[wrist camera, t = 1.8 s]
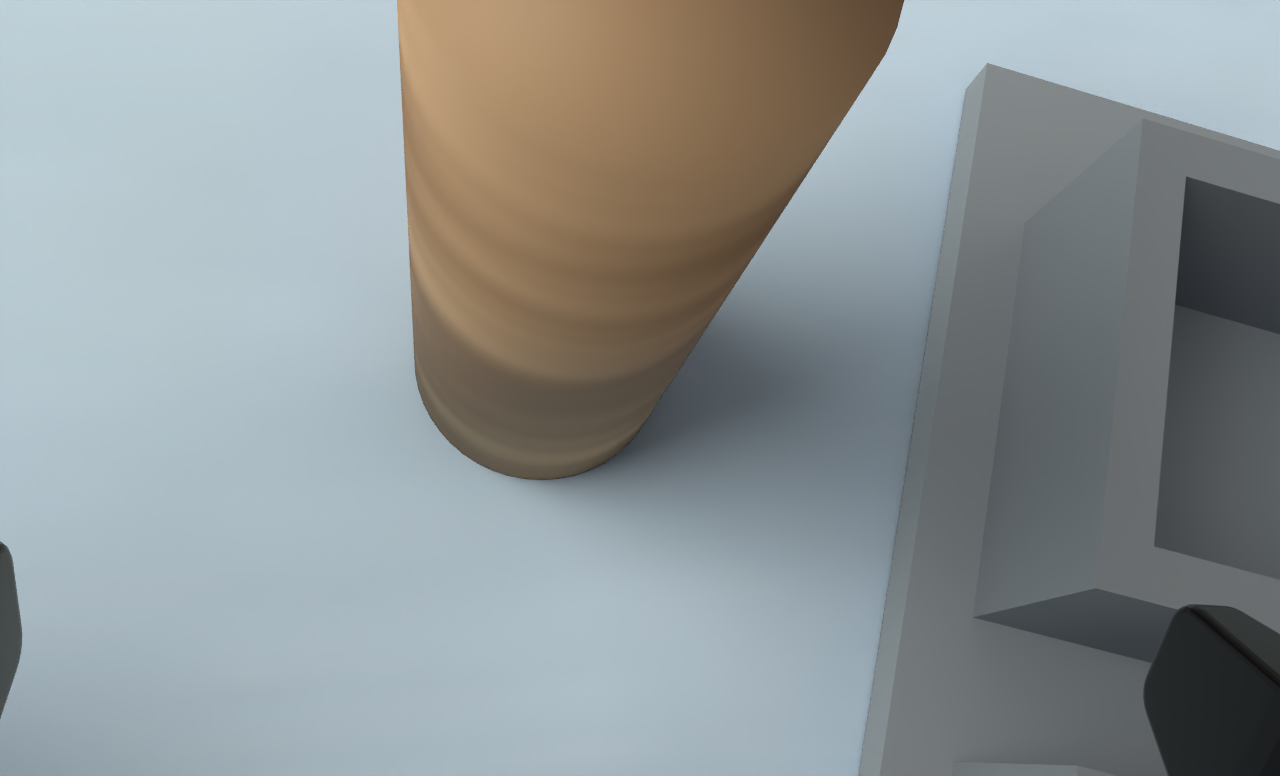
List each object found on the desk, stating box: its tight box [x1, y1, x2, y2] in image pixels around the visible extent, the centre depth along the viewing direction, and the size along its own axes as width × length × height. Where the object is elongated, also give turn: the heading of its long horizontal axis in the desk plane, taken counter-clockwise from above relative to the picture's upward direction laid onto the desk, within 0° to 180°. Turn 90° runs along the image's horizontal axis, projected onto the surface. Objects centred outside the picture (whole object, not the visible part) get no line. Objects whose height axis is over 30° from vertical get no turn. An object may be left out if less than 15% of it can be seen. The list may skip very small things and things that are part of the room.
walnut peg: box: [397, 0, 904, 480], centre depth 16 cm, size 4×4×12 cm
